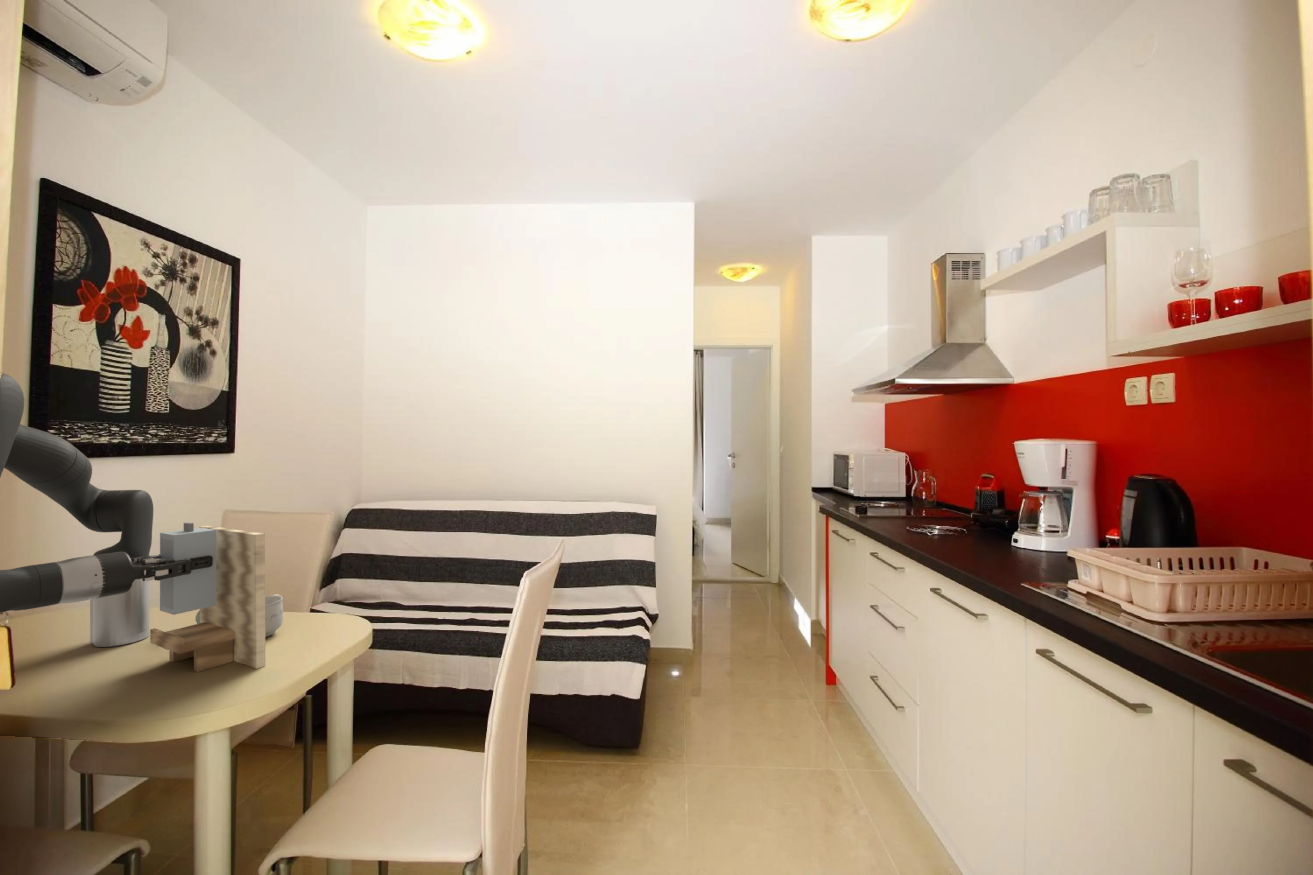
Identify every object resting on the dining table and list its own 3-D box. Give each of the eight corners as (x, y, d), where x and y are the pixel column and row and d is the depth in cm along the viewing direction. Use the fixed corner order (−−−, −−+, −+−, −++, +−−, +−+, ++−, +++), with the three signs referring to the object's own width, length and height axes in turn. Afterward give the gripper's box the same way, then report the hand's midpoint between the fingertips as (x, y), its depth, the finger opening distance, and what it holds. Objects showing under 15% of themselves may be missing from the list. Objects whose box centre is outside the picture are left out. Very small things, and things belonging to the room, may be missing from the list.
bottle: (159, 610, 112) (159, 524, 112) (202, 601, 118) (202, 519, 118) (173, 614, 109) (173, 526, 109) (216, 605, 115) (216, 521, 115)
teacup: (254, 646, 125) (253, 609, 125) (212, 643, 127) (212, 606, 127) (305, 625, 138) (305, 592, 138) (267, 623, 140) (266, 589, 140)
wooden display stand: (145, 663, 115) (145, 533, 115) (208, 646, 125) (208, 525, 125) (201, 686, 105) (200, 542, 105) (265, 665, 114) (264, 533, 114)
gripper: (109, 559, 98) (222, 543, 113) (74, 551, 104) (185, 537, 119) (109, 604, 98) (222, 582, 113) (74, 593, 104) (186, 573, 119)
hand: (203, 559), depth 116 cm, fingers closed on bottle, 5 cm apart
